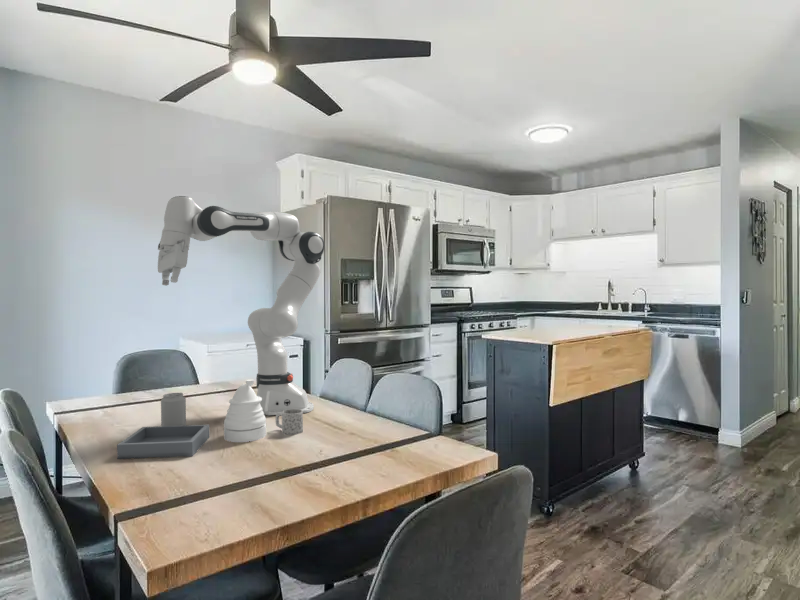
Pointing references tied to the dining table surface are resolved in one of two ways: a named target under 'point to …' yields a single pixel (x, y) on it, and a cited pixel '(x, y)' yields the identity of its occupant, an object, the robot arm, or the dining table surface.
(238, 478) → the dining table surface
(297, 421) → the mug
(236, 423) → the honey pot
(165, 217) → the robot arm
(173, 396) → the can
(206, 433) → the tray
